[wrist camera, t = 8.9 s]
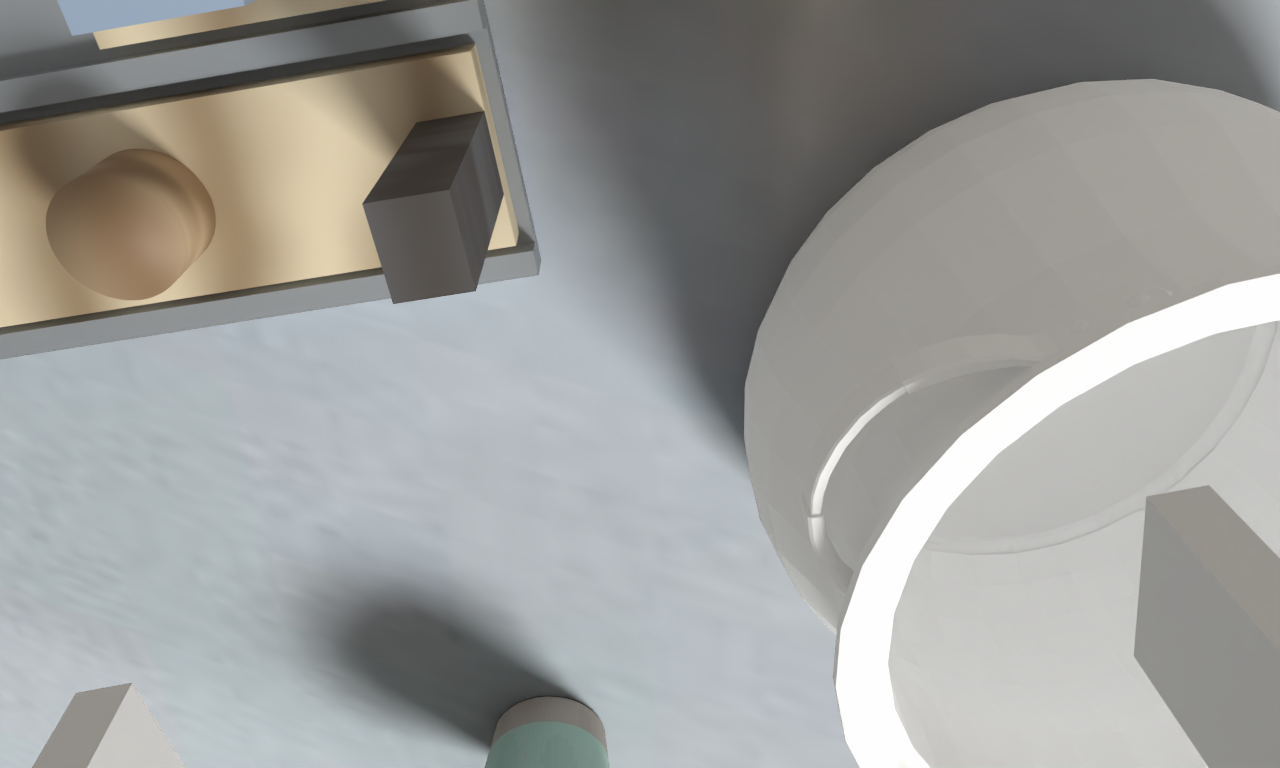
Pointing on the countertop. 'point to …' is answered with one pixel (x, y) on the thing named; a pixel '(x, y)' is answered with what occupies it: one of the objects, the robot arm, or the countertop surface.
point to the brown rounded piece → (131, 224)
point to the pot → (1021, 413)
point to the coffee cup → (548, 736)
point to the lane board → (91, 78)
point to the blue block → (133, 12)
